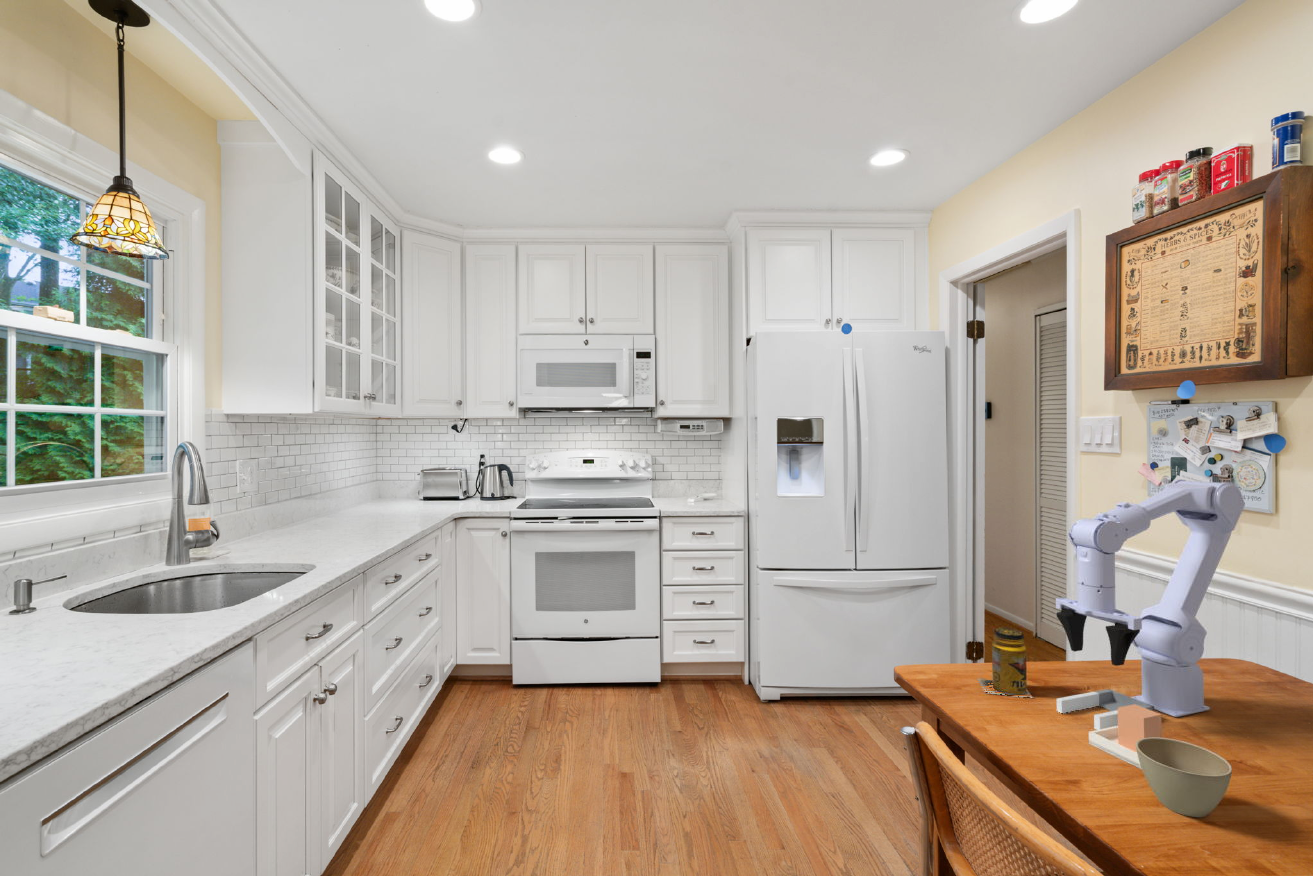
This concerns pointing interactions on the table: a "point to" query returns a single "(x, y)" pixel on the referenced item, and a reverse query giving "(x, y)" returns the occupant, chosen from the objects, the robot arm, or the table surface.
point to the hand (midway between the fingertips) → (1096, 657)
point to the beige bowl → (1184, 775)
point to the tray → (1113, 745)
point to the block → (1137, 725)
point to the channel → (1088, 702)
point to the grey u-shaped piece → (1118, 700)
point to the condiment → (1008, 663)
